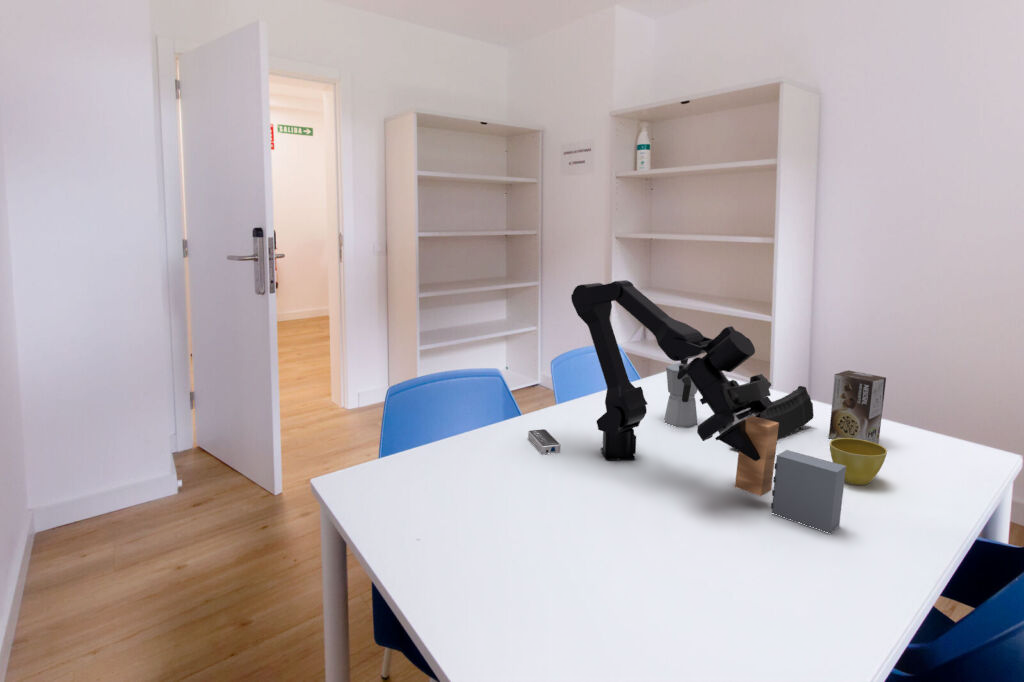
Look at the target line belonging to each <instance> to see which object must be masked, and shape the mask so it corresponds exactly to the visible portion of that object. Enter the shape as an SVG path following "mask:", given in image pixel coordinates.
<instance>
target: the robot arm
mask: <svg viewBox="0 0 1024 682" xmlns="http://www.w3.org/2000/svg"><path fill="white" fill-rule="evenodd" d="M570 298H571V303H572V306H573V307H574V309H575V311H576V314H577V316H578V317H579V318H580V319H581V320H582V322H584V323H585V324H586V325H587V327H588V329H589V333H590V336H591V340H592V343H593V346H594V349H595V352H596V356H597V358H598V363H599V365H600V368H601V372H602V375H603V378H604V382H605V384H606V388H607V389H606V394H605V399H604V405H605V410H606V412H605V413H604V414H602V415H601V416H600V417H599V418H598V419H597V420H596V425H597V429H598V431H601V432H602V447H600V451H601V454H602V455H603V457H604V460H606V461H619V460H620V461H622V460H623V461H624V460H625V461H627V460H629V461H631V460H636V456H635V455H636V449H637V435H635V429H634V428H638V427H639V426H640V423H641V421H642V420H643V419H644V418H645V416H646V414H647V406H646V405H648V401H647V400H646V399H645V395H644V391H643V389H642V388H643V387H641V386H638V387H635V386H634V385H633V384H632V382H631V381H630V379H629V376H628V374H627V370H626V367H625V363H624V360H623V357H622V355H621V351H620V348H619V344H618V342H617V339H616V335H615V332H614V329H613V325H612V323H611V314H612V313H611V312H612V307H613V305H612V302H617V304H619V305H620V306H621V307H622V308H623V309H625V311H627V312H628V313H629V314H630V315H631V316H633V318H634V319H636V320H637V321H638V322H639V323H640V324H642V326H644V327H645V328H646V329H647V330H648V331H649V332H650V333H652V335H653V336H654V337H655V340H656V343H657V345H658V346H659V348H660V349H661V350H662V352H664V354H665V355H666V356H667V357H668V359H670V360H671V361H673V362H681V361H682V360H686V359H688V360H689V359H692V360H691V361H689V363H688V364H683V365H680V366H679V372H678V375H677V379H679V380H680V379H683V378H686V377H689V378H690V380H691V381H692V382H693V384H694V385H695V387H696V388H697V392H698V393H699V394H700V395H701V398H700V399H699V402H700V403H701V405H705V404H707V405H708V407H709V408H710V410H711V411H712V412H713V414H712V415H711V416H709V417H707V419H705V420H704V421H702V422H700V424H698V425H697V431H696V433H697V435H698V436H699V437H700V439H701V441H702V442H705V441H707V440H709V439H711V438H713V436H714V435H715V434H716V433H719V434H718V436H716V437H715V438H714V439H715V441H720V442H722V443H724V444H726V445H727V446H729V447H732V448H733V449H735V450H737V451H738V452H739V451H740V452H741V453H743V454H745V455H746V456H748V457H749V458H751V459H753V460H754V461H757V460H759V459H760V456H759V454H758V452H757V450H756V448H755V446H754V445H753V443H752V441H751V440H750V438H749V436H748V434H747V433H746V430H745V427H746V420H743V419H746V418H749V417H751V416H755V417H758V418H762V419H764V415H765V414H766V411H765V410H767V409H768V408H770V407H771V406H773V405H774V404H773V403H772V402H773V401H772V400H771V399H770V398H769V397H771V395H772V394H771V392H770V388H771V386H772V383H771V382H770V381H769V380H768V378H767V377H765V376H764V375H763V374H762V373H760V374H755V375H752V376H750V379H749V382H747V383H743V384H739V383H738V381H736V380H734V379H731V380H729V378H727V376H726V375H725V374H724V372H726V373H732V372H733V371H734V370H735V369H737V368H738V367H739V366H741V365H742V364H743V363H745V362H746V361H747V360H748V359H750V358H751V357H752V356H754V355H755V352H756V349H755V346H754V344H753V342H752V340H751V339H750V338H749V337H747V336H745V334H743V333H742V332H740V331H738V330H736V329H735V328H734V327H733V326H732V325H730V326H727V327H725V328H723V329H722V330H721V331H720V332H719V334H717V335H716V337H714V338H710V337H708V336H704V335H703V334H702V333H701V332H700V331H699V330H698V329H696V328H694V327H693V326H691V325H689V324H687V323H684V322H682V321H679V320H676V319H674V318H672V317H671V316H669V315H668V314H667V313H666V312H665V311H664V310H663V309H661V308H660V307H659V306H658V305H656V304H655V303H654V302H653V301H652V300H650V299H649V297H647V296H646V295H644V293H642V292H641V291H640V290H639V289H637V288H636V287H635V286H634V284H633V283H632V282H631V281H629V280H615V281H612V282H611V283H610V282H609V283H606V284H605V283H604V284H603V283H601V282H595V283H585V284H579V285H577V286H575V287H574V290H573V291H572V294H571V297H570ZM701 354H704V356H702V357H698V356H700V355H701ZM742 420H743V421H742Z"/></svg>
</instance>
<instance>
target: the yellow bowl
mask: <svg viewBox="0 0 1024 682" xmlns="http://www.w3.org/2000/svg"><path fill="white" fill-rule="evenodd" d="M829 450H830V451H829V452H830V457H831V462H833V463H837V464H841V465H844V466H846V471H845V480H844V483H847V484H851V485H856V486H857V485H858V486H864V485H868V484H870V482H871V481H873V480H874V479H875V477H877V475H878V473H879V472H880V470H881V469H882V467H883V464H884V462H885V460H886V457H887V454H888V450H887V448H886V447H884V446H882V445H881V444H876V443H873V442H870V441H866V440H860V439H853V438H838V439H830V442H829Z"/></svg>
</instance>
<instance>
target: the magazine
mask: <svg viewBox="0 0 1024 682" xmlns="http://www.w3.org/2000/svg"><path fill="white" fill-rule="evenodd" d="M771 402H772V403H773V404H774V405H773V406H771V407H770V408H768V409H767V410H765V411H766V414H765V415H764V419H766V420H770V421H774V422H778V423H779V427H778V436H777V441H778V439H779V440H781V439H784V438H785V437H788V436H789V435H791V434H793V433H795V432H796V431H798V430H802V427H804V426H805V425H806V424H808V423H809V422H810V421H812V420H813V419H814V405H813V402H812V399H811V395H810V394H809V392H808V390H807V386H803V385H799V386H798V387H797V389H794V390H793V391H792V392H790V393H789V394H787V395H784V396H783V397H781V398H779V399H776V400H774V401H771Z"/></svg>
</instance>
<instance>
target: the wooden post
mask: <svg viewBox="0 0 1024 682" xmlns="http://www.w3.org/2000/svg"><path fill="white" fill-rule="evenodd" d="M743 420H746V427H745V430H746V433H747V434H748V436H749V438H750V440H751V441H752V443H753V445H754V446H755V448H756V450H757V452H758V454H759V456H760V459H759V460H757V461H754V460H753V459H751V458H749V457H748V456H746V455H745V454H743V453H741V452H740V451H738V455H737V465H736V475H735V483H734V488H737V489H739V490H742V491H745V492H748V493H750V494H754V495H756V496H759V497H762V496H764V495H765V494H767V493H769V492H771V491H772V486H773V479H774V471H775V463H776V453H777V452H776V450H777V444H778V440H777V436H778V427H779V423H778V422H774V421H770V420H766V419H762V418H758V417H755V416H751V417H749V418H746V419H743ZM743 420H742V421H743Z"/></svg>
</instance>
